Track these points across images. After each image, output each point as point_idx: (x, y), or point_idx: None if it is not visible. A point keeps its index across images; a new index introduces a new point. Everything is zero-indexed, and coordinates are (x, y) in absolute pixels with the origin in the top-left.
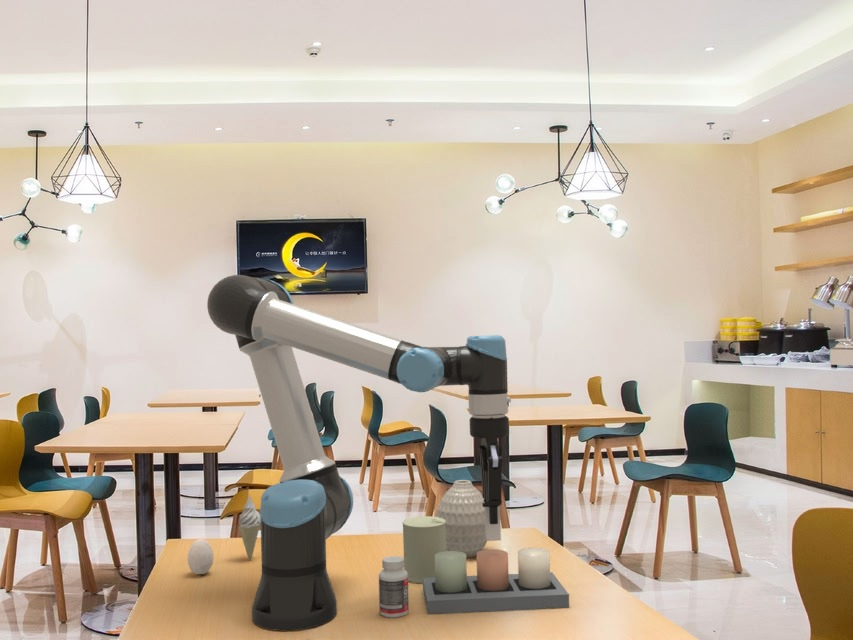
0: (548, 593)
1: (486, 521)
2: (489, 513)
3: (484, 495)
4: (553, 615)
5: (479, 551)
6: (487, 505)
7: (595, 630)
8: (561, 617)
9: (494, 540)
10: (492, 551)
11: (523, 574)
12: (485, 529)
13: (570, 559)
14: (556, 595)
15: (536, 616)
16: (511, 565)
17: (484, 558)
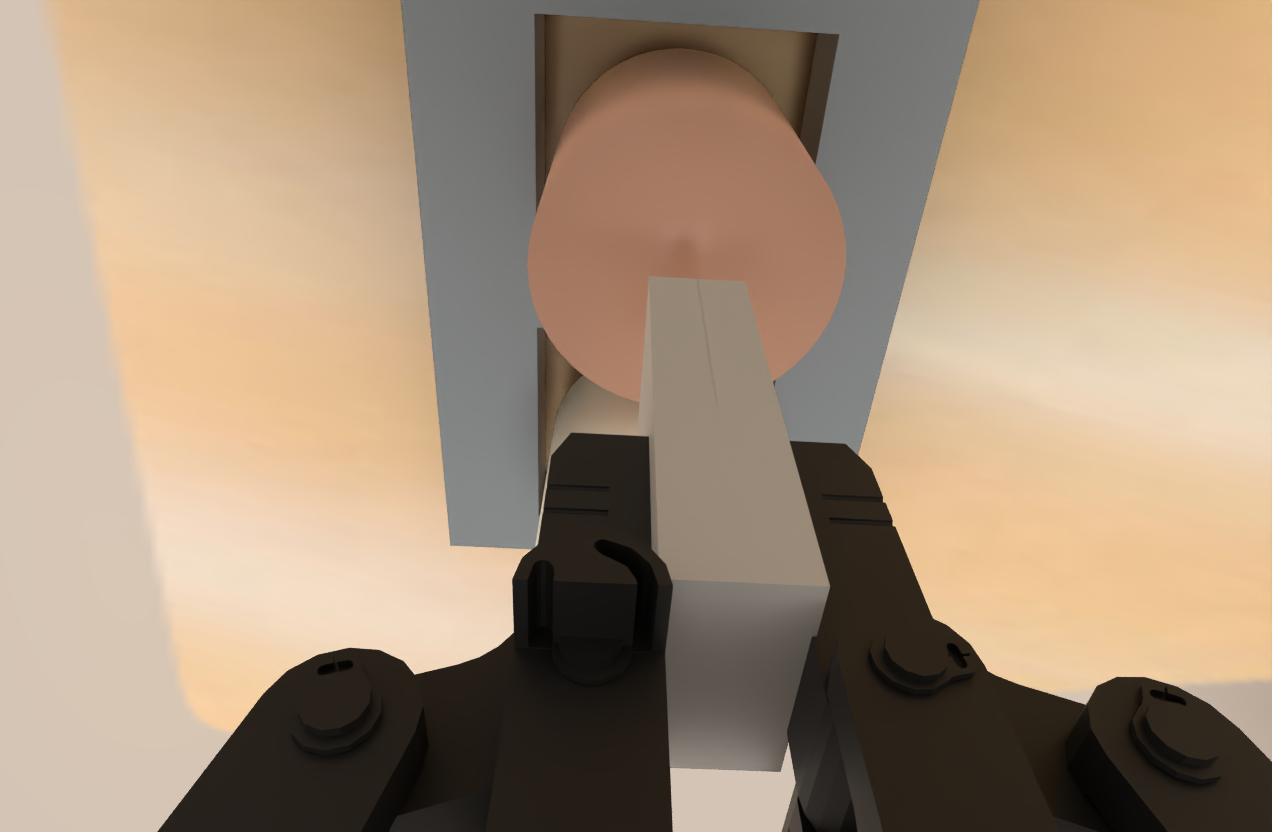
0: (474, 463)
1: (654, 408)
2: (635, 535)
3: (961, 776)
4: (358, 409)
5: (798, 164)
6: (528, 629)
7: (172, 518)
8: (330, 435)
9: (643, 360)
10: (756, 292)
11: (591, 410)
12: (745, 336)
13: (1152, 673)
14: (446, 490)
15: (342, 327)
16: (1250, 403)
17: (562, 167)
